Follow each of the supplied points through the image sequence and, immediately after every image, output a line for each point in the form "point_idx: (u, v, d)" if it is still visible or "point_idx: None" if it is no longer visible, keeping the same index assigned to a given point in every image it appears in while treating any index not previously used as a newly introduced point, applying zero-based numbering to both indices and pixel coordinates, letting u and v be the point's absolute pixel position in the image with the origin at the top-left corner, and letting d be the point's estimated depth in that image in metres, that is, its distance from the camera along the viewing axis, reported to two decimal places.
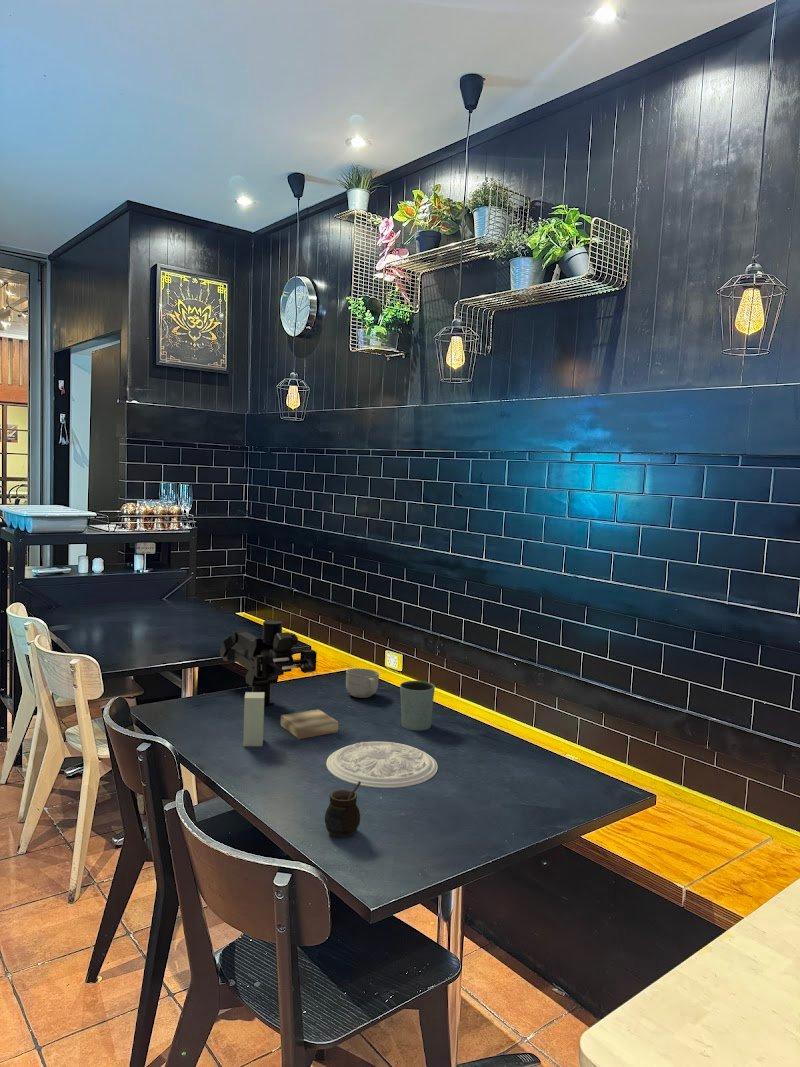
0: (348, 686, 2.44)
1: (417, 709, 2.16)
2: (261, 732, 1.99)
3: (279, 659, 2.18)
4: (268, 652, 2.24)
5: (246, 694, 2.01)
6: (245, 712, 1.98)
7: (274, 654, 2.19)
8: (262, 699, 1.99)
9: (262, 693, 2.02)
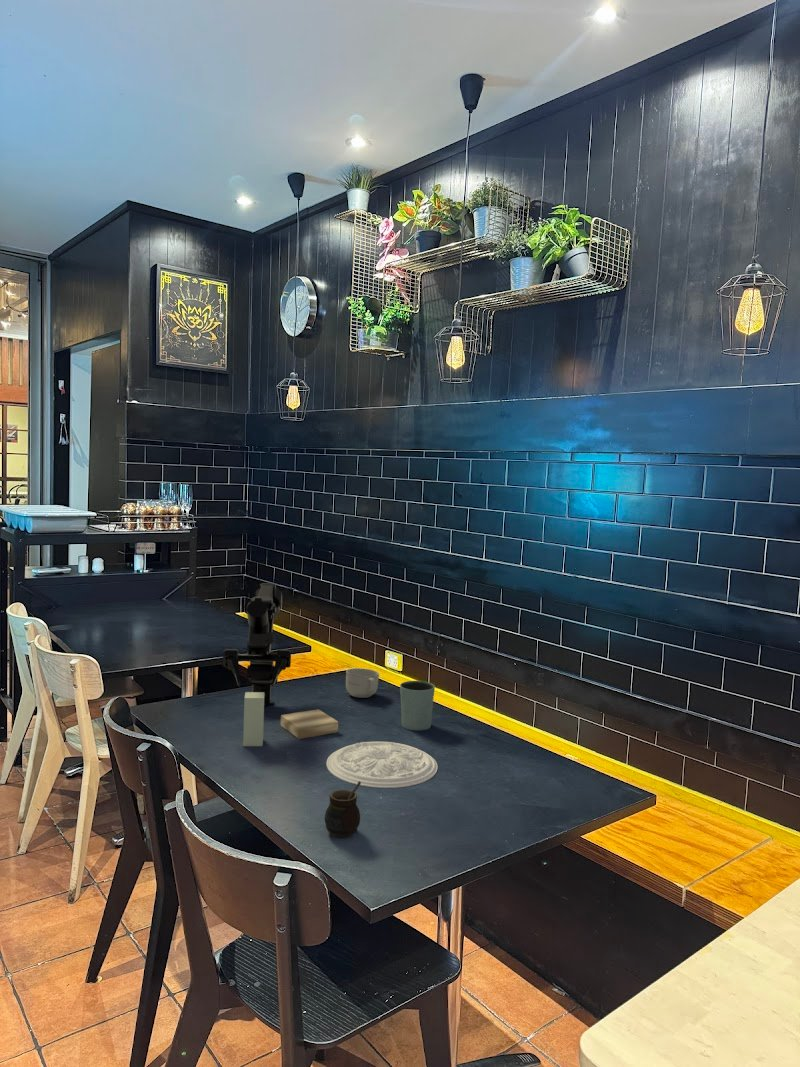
0: (348, 686, 2.44)
1: (417, 709, 2.16)
2: (261, 732, 1.99)
3: (250, 655, 2.12)
4: (250, 633, 2.17)
5: (246, 694, 2.01)
6: (245, 712, 1.98)
7: (247, 648, 2.12)
8: (262, 699, 1.99)
9: (262, 693, 2.02)
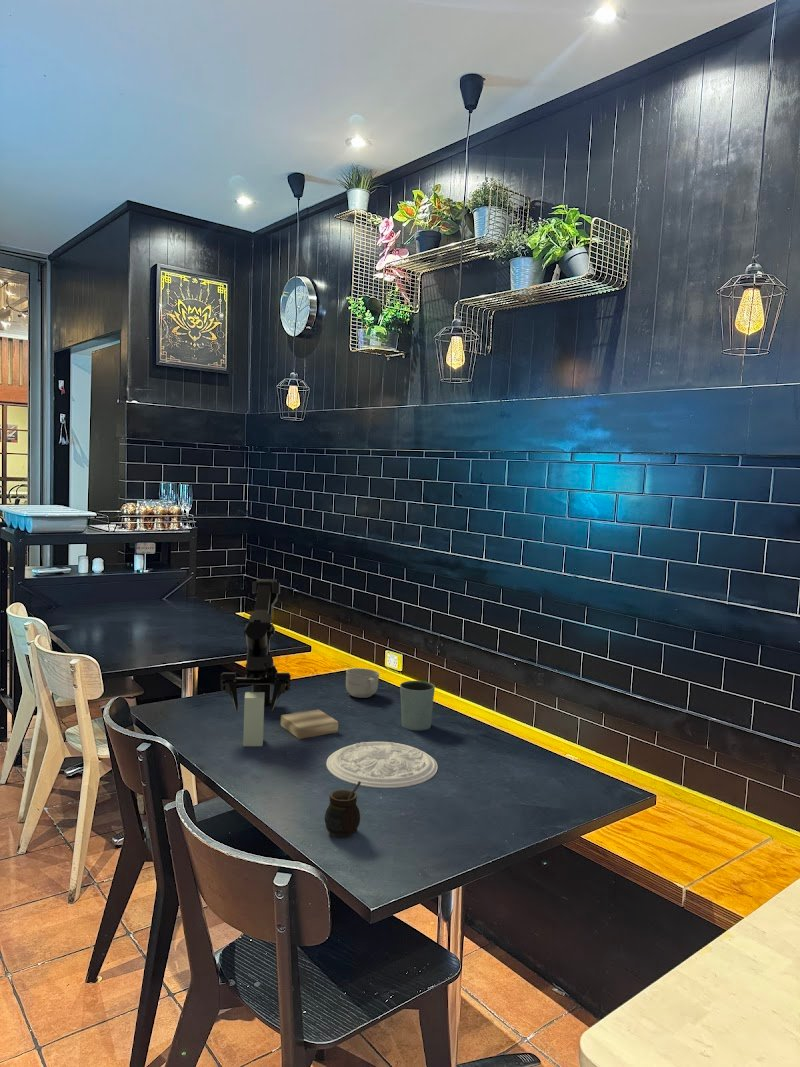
0: (348, 686, 2.44)
1: (417, 709, 2.16)
2: (261, 732, 1.99)
3: (248, 679, 2.06)
4: (248, 655, 2.10)
5: (246, 694, 2.01)
6: (245, 712, 1.98)
7: (245, 671, 2.06)
8: (262, 699, 1.99)
9: (262, 693, 2.02)
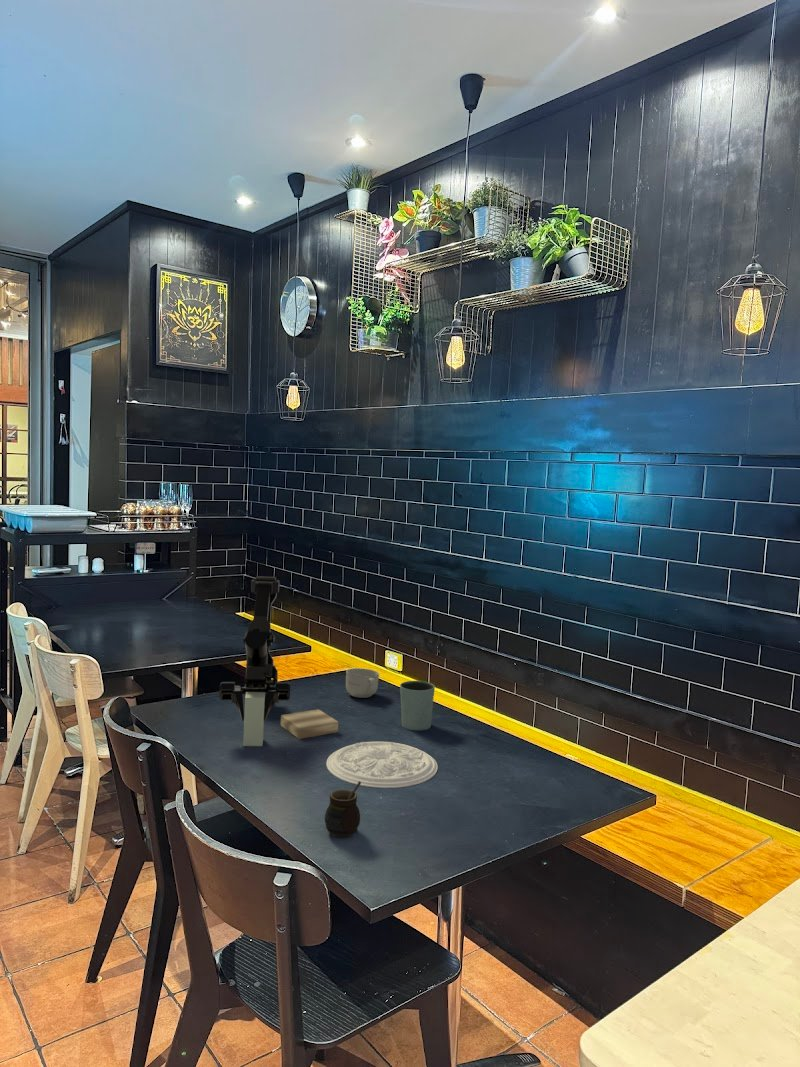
0: (348, 686, 2.44)
1: (417, 709, 2.16)
2: (261, 732, 1.99)
3: (247, 688, 2.04)
4: (248, 664, 2.08)
5: (247, 694, 2.01)
6: (246, 712, 1.98)
7: None
8: (263, 699, 1.99)
9: (263, 693, 2.02)
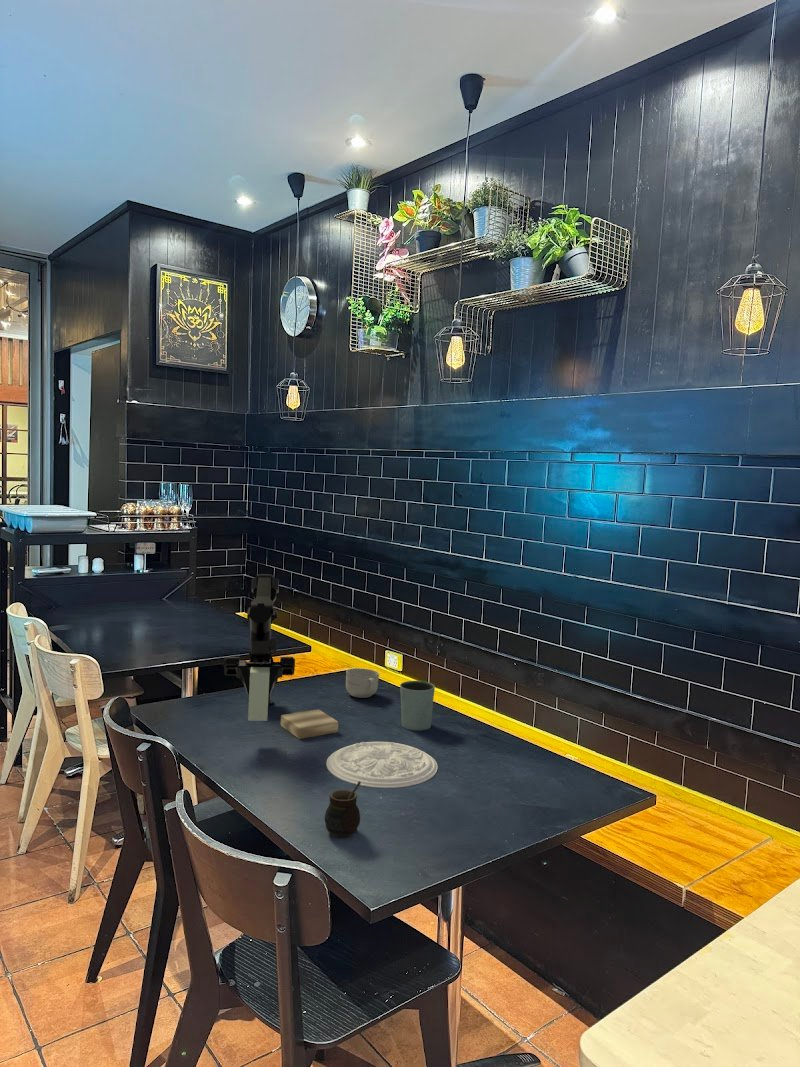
0: (348, 686, 2.44)
1: (417, 709, 2.16)
2: (266, 707, 1.99)
3: (252, 663, 2.04)
4: (252, 639, 2.08)
5: (251, 669, 2.01)
6: (251, 686, 1.98)
7: (249, 656, 2.04)
8: (268, 674, 1.98)
9: (267, 668, 2.02)
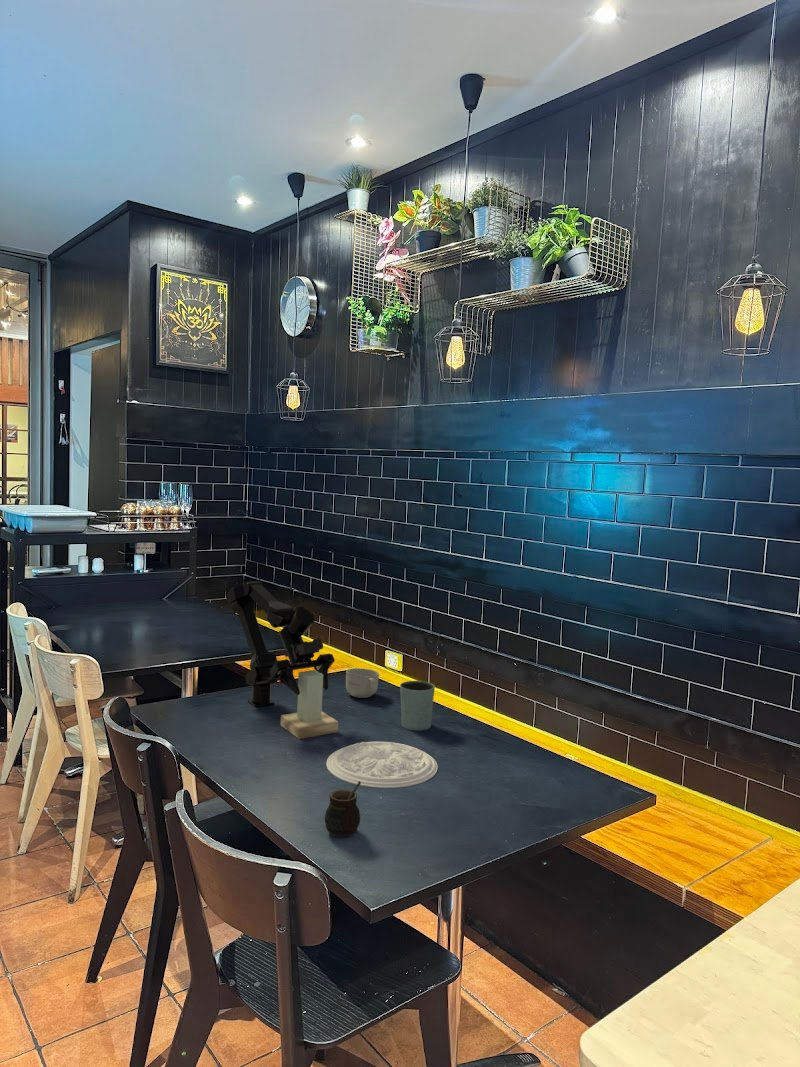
0: (348, 686, 2.44)
1: (417, 709, 2.16)
2: (320, 706, 2.13)
3: (298, 664, 2.14)
4: (289, 642, 2.17)
5: (303, 673, 2.12)
6: (308, 690, 2.10)
7: (295, 657, 2.14)
8: (322, 675, 2.12)
9: (314, 671, 2.15)
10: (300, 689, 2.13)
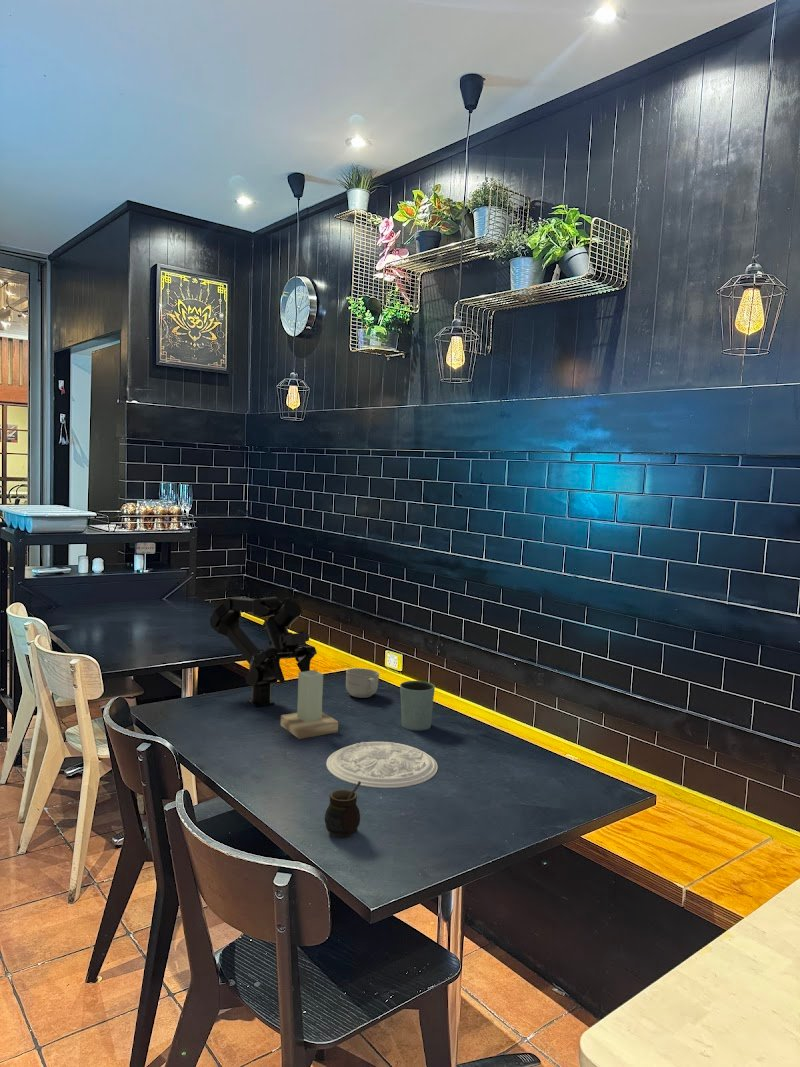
0: (348, 686, 2.44)
1: (417, 709, 2.16)
2: (320, 706, 2.13)
3: (284, 653, 2.22)
4: (276, 631, 2.24)
5: (303, 673, 2.12)
6: (308, 690, 2.10)
7: (281, 647, 2.21)
8: (322, 675, 2.12)
9: (314, 671, 2.15)
10: (300, 689, 2.13)
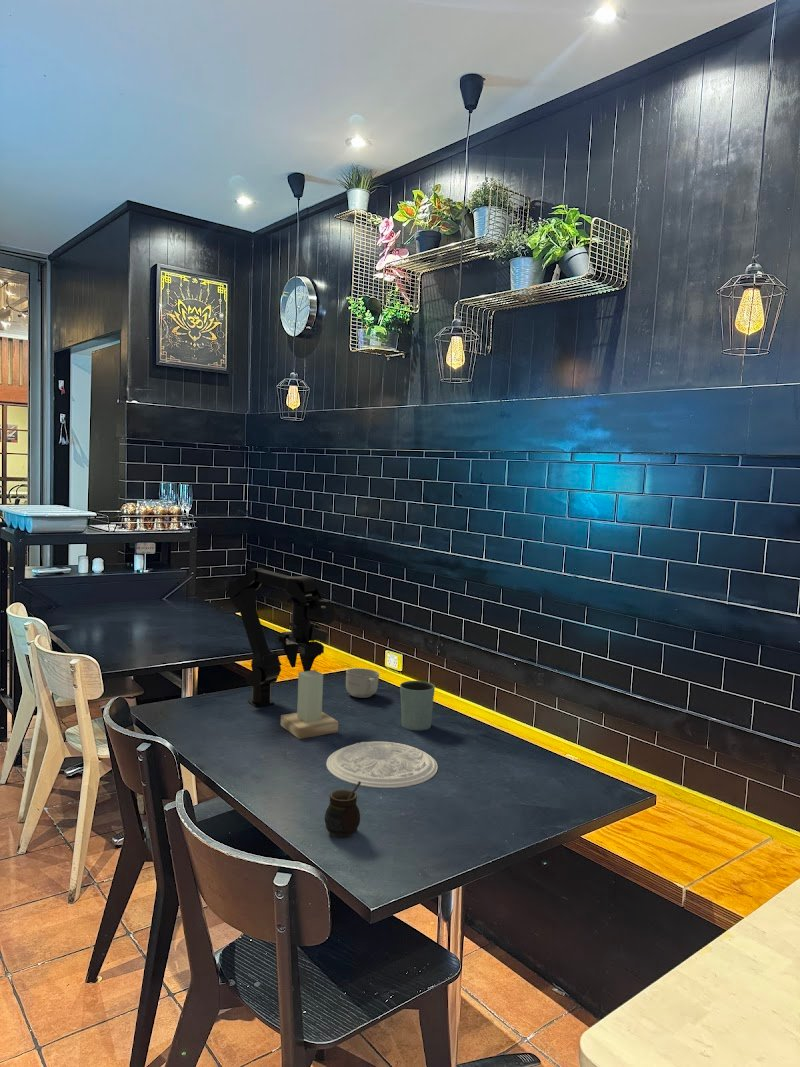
0: (348, 686, 2.44)
1: (417, 709, 2.16)
2: (320, 706, 2.13)
3: None
4: (310, 620, 2.23)
5: (303, 673, 2.12)
6: (308, 690, 2.10)
7: (313, 639, 2.24)
8: (322, 675, 2.12)
9: (314, 671, 2.15)
10: (300, 689, 2.13)
